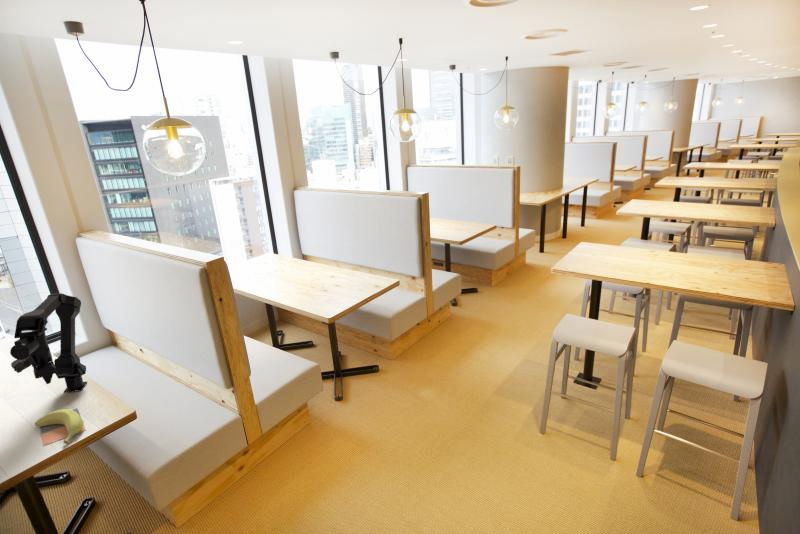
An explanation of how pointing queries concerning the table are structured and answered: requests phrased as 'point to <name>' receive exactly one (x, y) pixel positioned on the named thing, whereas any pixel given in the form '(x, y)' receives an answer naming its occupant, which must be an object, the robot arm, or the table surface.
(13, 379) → the table surface
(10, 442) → the table surface
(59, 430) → the pad
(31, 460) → the table surface
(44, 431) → the mat
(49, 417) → the banana
